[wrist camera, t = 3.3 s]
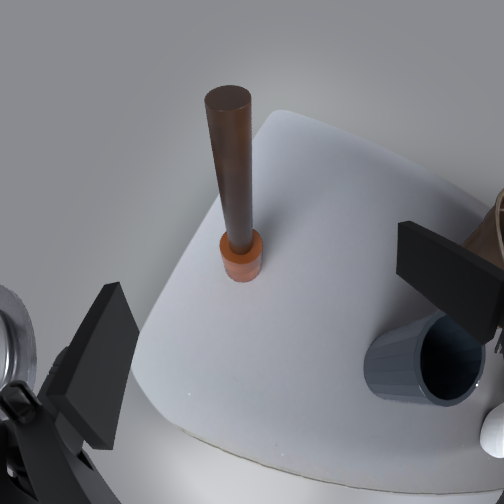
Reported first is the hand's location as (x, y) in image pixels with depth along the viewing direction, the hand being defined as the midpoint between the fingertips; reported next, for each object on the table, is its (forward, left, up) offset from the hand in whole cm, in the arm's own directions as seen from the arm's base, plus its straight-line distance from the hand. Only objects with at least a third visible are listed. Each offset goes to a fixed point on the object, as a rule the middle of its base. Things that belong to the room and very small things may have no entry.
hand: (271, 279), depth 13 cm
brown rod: (0, +9, -21) cm, 23 cm away
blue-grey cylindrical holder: (+15, -8, -21) cm, 27 cm away
